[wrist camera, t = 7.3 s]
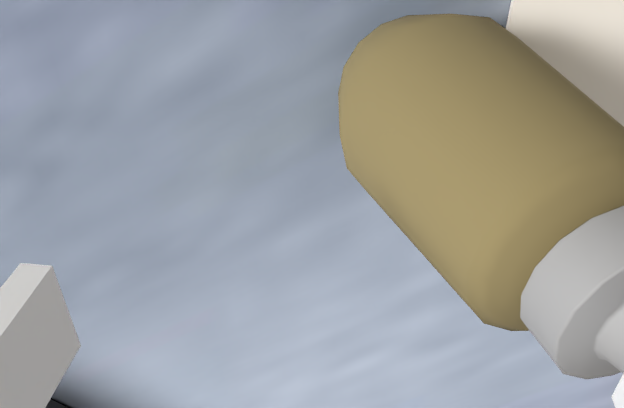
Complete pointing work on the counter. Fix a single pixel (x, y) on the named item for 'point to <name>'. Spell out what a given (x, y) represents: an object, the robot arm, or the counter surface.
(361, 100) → the squeeze bottle
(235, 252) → the counter surface
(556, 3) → the tray
